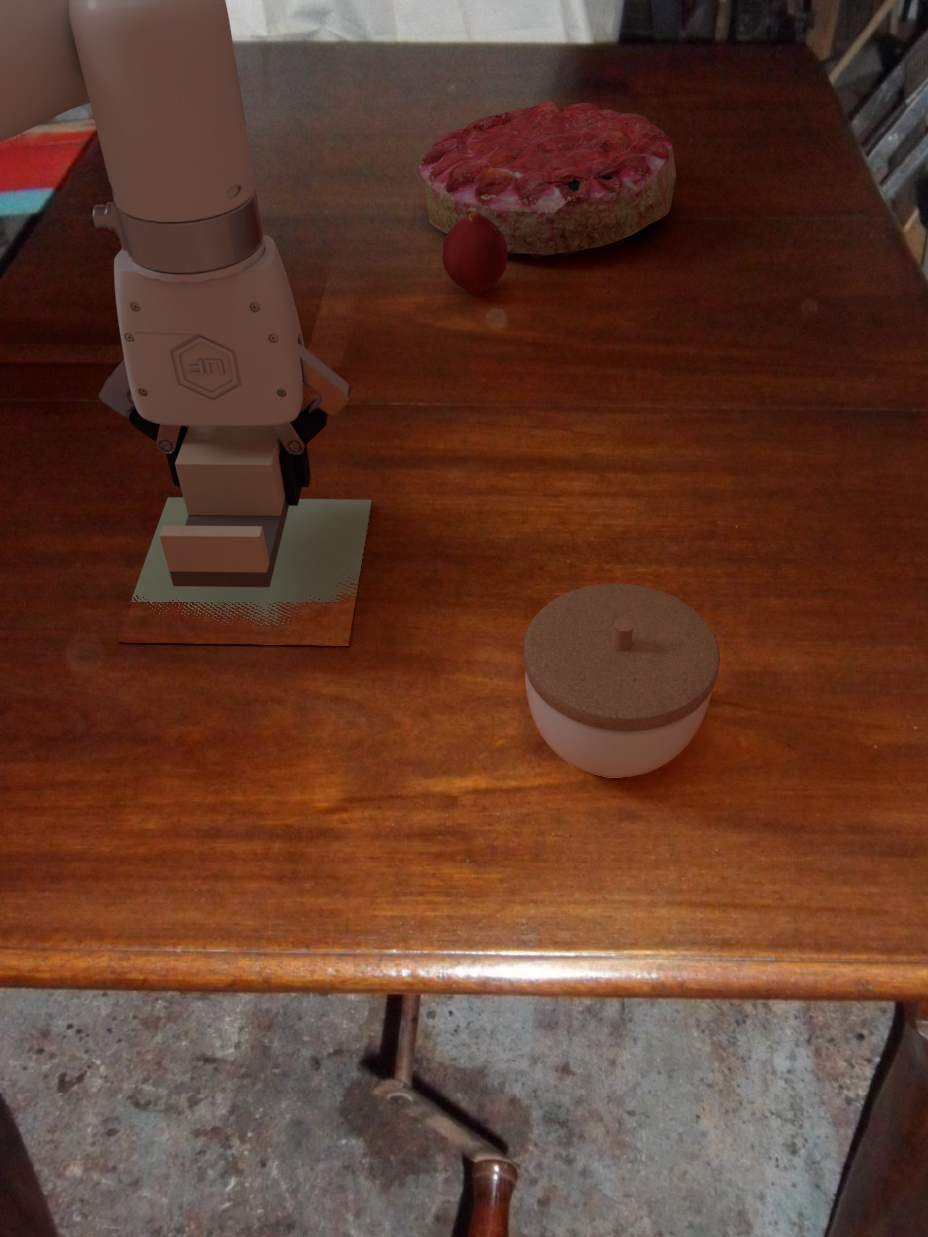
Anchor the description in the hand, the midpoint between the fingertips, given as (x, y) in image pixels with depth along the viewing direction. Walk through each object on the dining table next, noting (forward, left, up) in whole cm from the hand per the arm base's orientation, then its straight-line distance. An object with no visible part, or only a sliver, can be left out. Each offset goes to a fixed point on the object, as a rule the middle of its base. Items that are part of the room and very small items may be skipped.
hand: (245, 490), depth 76 cm
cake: (+21, +55, -6) cm, 59 cm away
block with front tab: (0, -1, -1) cm, 2 cm away
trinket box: (+24, -16, -6) cm, 30 cm away
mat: (0, -1, -6) cm, 6 cm away
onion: (+14, +38, -6) cm, 41 cm away
